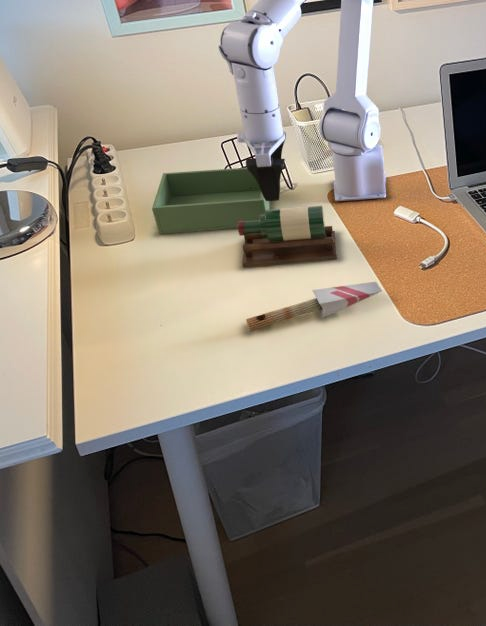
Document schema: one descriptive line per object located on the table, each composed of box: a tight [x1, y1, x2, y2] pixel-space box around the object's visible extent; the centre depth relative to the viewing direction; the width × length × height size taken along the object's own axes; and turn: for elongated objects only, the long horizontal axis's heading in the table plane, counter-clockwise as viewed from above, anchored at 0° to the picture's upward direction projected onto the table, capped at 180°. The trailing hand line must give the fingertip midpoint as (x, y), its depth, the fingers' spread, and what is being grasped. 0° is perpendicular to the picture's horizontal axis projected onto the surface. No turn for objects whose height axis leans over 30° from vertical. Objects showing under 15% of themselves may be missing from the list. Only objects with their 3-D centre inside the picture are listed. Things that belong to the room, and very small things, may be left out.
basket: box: [151, 167, 271, 235], centre depth 129 cm, size 18×13×5 cm
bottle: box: [237, 205, 326, 242], centre depth 118 cm, size 14×5×5 cm, turn 101°
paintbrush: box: [245, 281, 383, 332], centre depth 107 cm, size 4×3×20 cm
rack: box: [242, 225, 338, 268], centre depth 120 cm, size 15×8×3 cm, turn 102°
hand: (273, 188), depth 116 cm, fingers open, 7 cm apart
